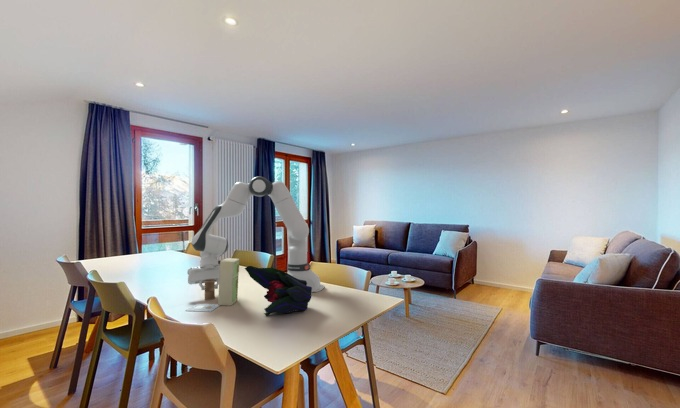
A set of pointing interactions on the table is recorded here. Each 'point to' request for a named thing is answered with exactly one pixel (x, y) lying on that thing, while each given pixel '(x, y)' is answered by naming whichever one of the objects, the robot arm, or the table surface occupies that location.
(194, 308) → the page
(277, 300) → the decorative plant
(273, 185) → the robot arm
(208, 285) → the walnut block
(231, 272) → the tall cream box
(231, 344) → the table surface
